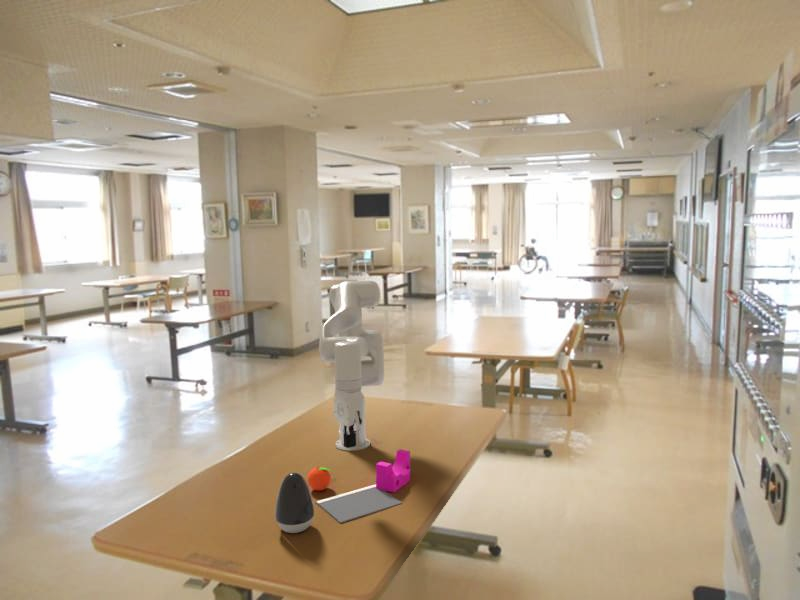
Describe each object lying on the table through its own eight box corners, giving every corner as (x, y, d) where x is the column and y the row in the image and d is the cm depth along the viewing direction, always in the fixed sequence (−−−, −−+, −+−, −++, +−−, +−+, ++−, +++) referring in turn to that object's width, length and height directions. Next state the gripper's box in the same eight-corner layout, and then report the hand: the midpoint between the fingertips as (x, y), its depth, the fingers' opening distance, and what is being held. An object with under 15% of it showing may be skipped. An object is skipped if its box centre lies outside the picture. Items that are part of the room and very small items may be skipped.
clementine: (336, 485, 184) (336, 463, 183) (331, 495, 177) (331, 472, 177) (311, 484, 185) (310, 462, 184) (305, 494, 178) (304, 471, 177)
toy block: (394, 492, 178) (394, 468, 177) (376, 488, 181) (376, 464, 180) (416, 475, 191) (417, 452, 190) (399, 471, 194) (399, 449, 193)
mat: (315, 502, 173) (315, 500, 172) (375, 485, 183) (375, 483, 183) (340, 523, 160) (340, 521, 160) (402, 503, 171) (402, 502, 171)
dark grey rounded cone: (280, 542, 151) (278, 484, 149) (272, 523, 161) (269, 469, 159) (319, 533, 155) (317, 477, 153) (309, 516, 165) (307, 463, 163)
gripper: (325, 381, 176) (326, 441, 177) (349, 391, 163) (350, 456, 165) (347, 377, 180) (349, 436, 182) (372, 387, 167) (374, 451, 169)
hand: (349, 446), depth 173 cm, fingers closed
